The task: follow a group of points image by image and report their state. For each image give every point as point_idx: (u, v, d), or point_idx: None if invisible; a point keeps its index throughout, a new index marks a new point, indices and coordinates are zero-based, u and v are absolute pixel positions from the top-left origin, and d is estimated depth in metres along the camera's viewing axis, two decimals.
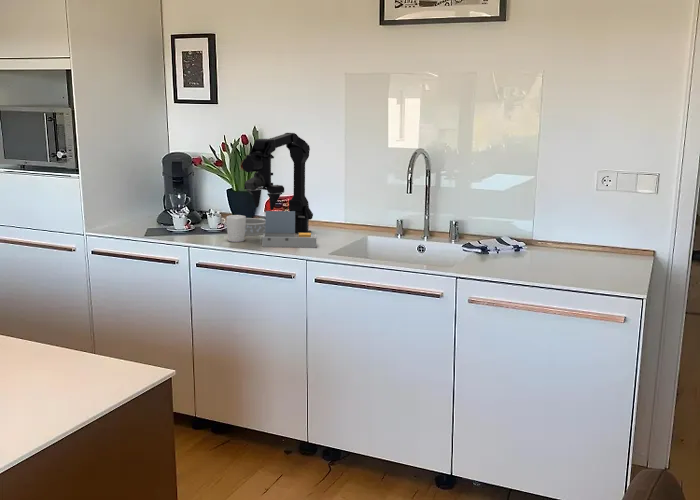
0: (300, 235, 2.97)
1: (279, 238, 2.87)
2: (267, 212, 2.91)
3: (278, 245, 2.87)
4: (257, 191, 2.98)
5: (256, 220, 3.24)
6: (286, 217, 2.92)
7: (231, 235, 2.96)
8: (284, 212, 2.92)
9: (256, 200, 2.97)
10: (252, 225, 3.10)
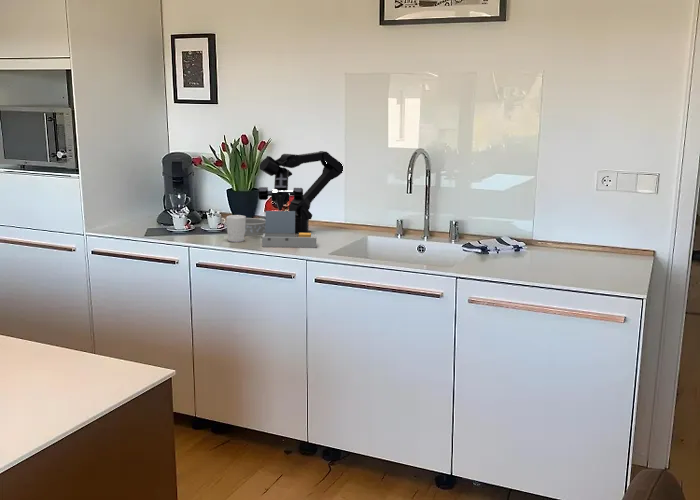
0: (300, 235, 2.98)
1: (279, 238, 2.87)
2: (267, 212, 2.91)
3: (278, 245, 2.87)
4: None
5: (256, 220, 3.24)
6: (286, 217, 2.92)
7: (231, 235, 2.96)
8: (284, 212, 2.92)
9: None
10: (252, 225, 3.10)
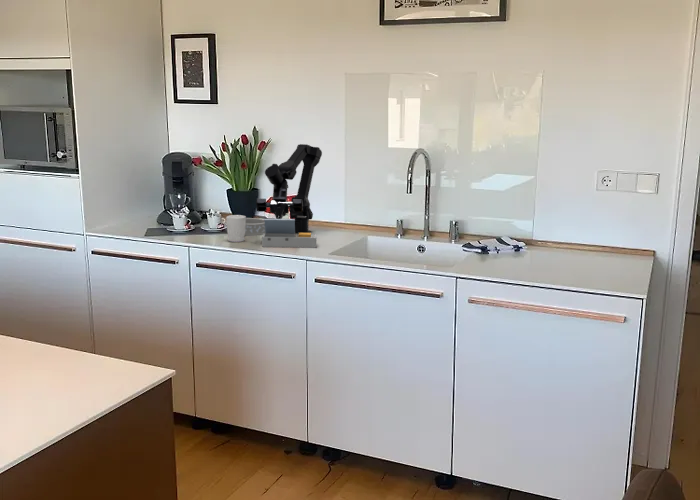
0: (300, 235, 2.98)
1: (279, 238, 2.87)
2: (266, 220, 2.86)
3: (278, 245, 2.87)
4: None
5: (256, 220, 3.24)
6: (286, 223, 2.88)
7: (231, 235, 2.96)
8: (284, 220, 2.87)
9: None
10: (252, 225, 3.10)
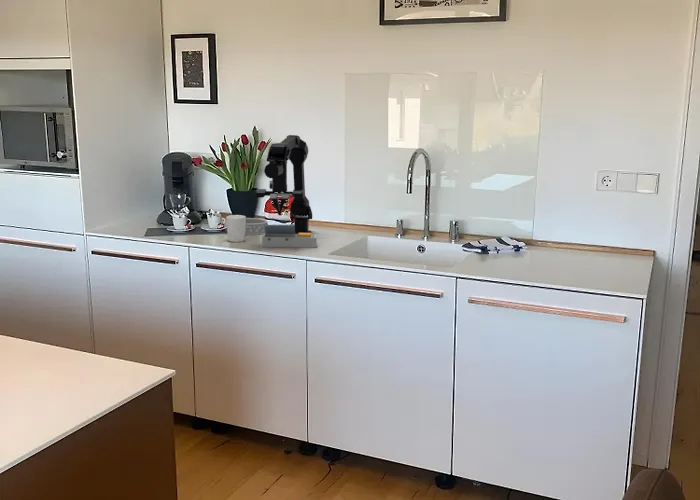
0: (300, 235, 2.98)
1: (279, 238, 2.87)
2: (266, 226, 2.85)
3: (278, 245, 2.87)
4: (281, 199, 2.85)
5: (255, 220, 3.24)
6: (285, 228, 2.88)
7: (231, 235, 2.96)
8: (283, 226, 2.86)
9: None
10: (251, 225, 3.10)
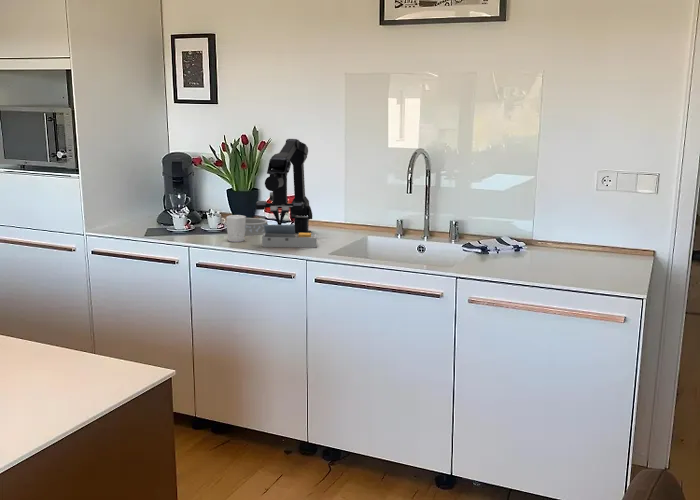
0: (300, 235, 2.98)
1: (279, 238, 2.87)
2: (266, 226, 2.85)
3: (278, 245, 2.87)
4: (281, 211, 2.86)
5: (255, 220, 3.24)
6: (285, 228, 2.88)
7: (231, 235, 2.96)
8: (283, 226, 2.86)
9: (280, 220, 2.88)
10: (251, 225, 3.10)
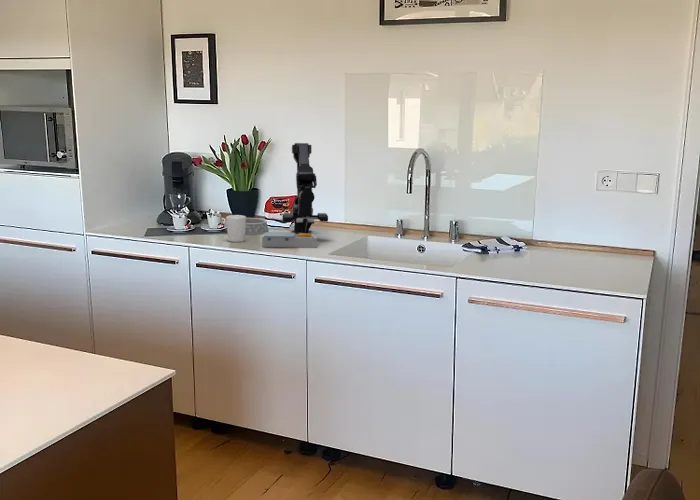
0: (299, 235, 2.96)
1: (279, 238, 2.87)
2: (266, 236, 2.85)
3: (278, 245, 2.87)
4: (306, 223, 3.00)
5: (255, 220, 3.25)
6: None
7: (231, 235, 2.96)
8: None
9: (305, 231, 3.02)
10: (251, 225, 3.11)
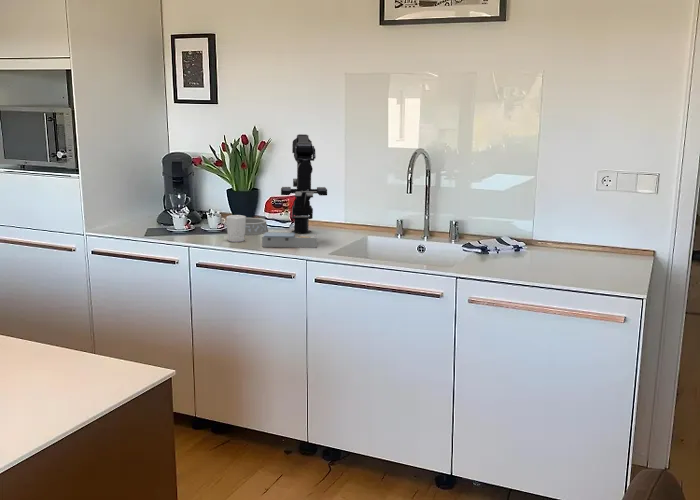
0: None
1: (279, 238, 2.87)
2: (266, 236, 2.85)
3: (278, 245, 2.87)
4: (305, 196, 2.95)
5: (254, 220, 3.25)
6: None
7: (231, 235, 2.96)
8: None
9: (304, 205, 2.96)
10: (250, 225, 3.11)
